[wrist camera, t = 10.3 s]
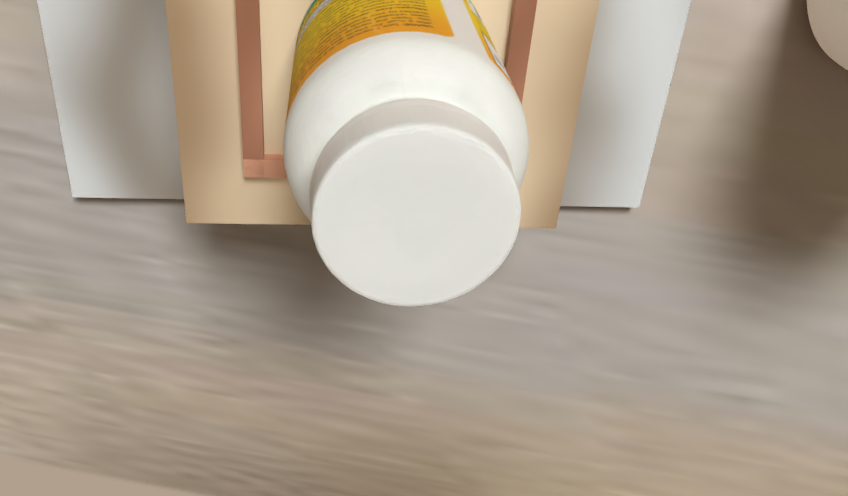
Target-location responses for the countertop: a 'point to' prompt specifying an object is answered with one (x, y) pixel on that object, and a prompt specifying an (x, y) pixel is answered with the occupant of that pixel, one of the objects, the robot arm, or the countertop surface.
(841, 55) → the beverage can
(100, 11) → the stand
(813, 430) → the countertop surface
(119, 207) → the countertop surface
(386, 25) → the supplement bottle
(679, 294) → the countertop surface
